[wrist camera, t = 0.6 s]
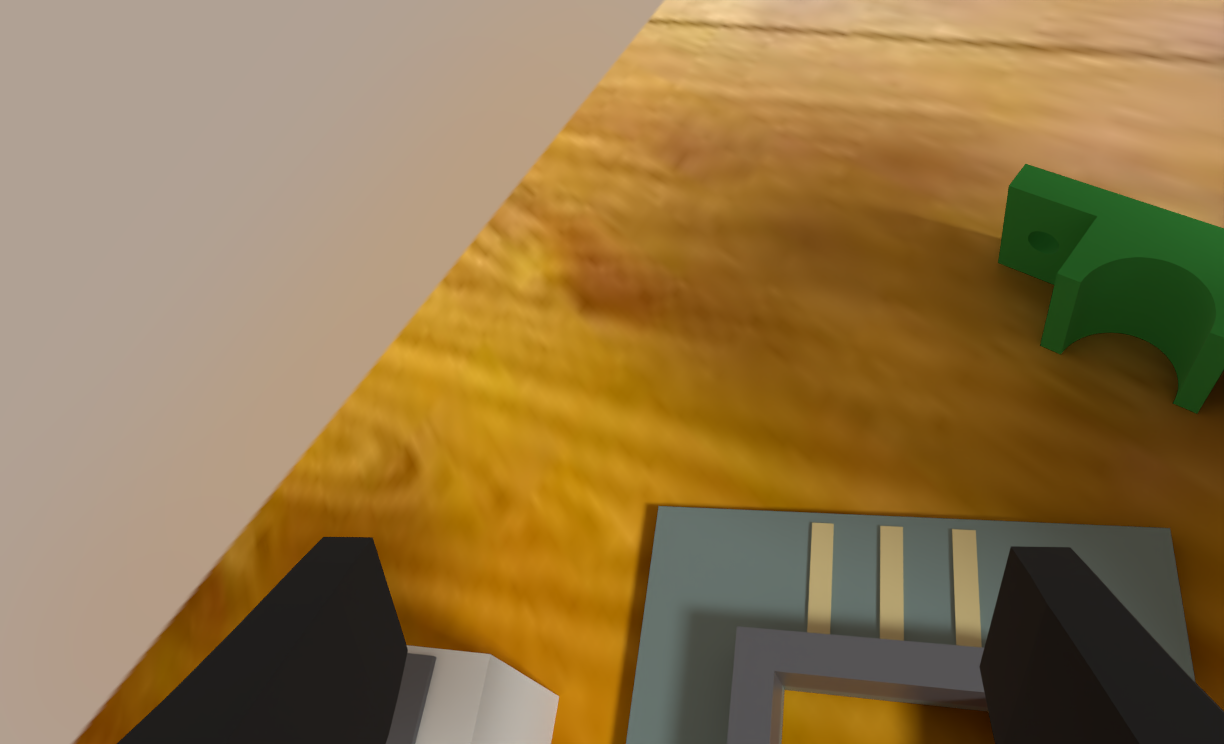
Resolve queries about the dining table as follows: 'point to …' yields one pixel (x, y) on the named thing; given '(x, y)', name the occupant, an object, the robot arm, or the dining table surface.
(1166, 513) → the dining table surface
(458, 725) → the plug
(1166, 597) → the header socket
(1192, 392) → the pipe clamp
